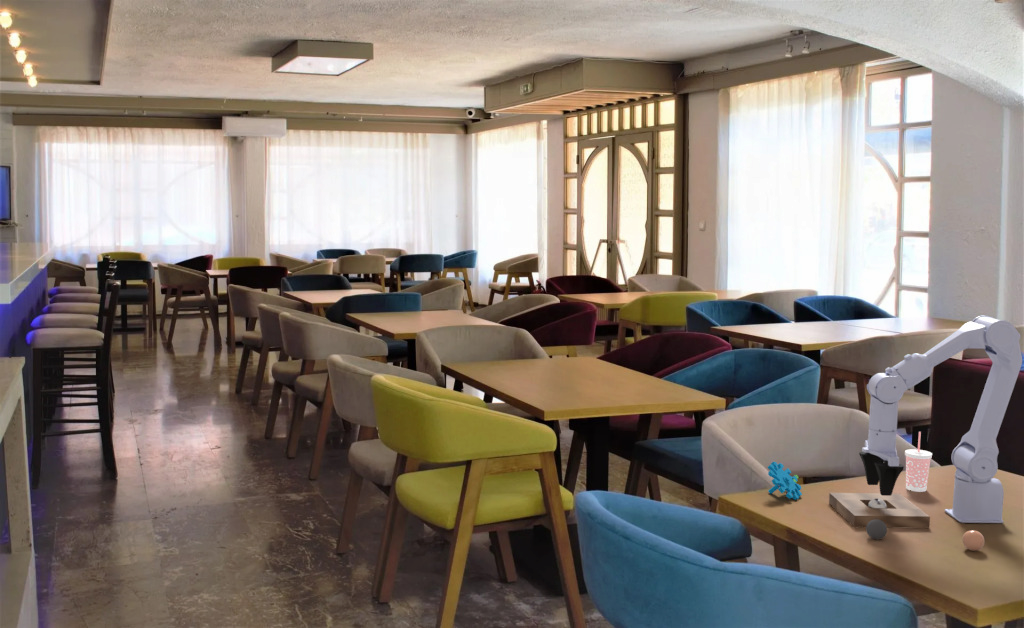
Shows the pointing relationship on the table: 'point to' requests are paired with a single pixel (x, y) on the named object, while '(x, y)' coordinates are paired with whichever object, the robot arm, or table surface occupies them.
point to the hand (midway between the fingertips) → (879, 489)
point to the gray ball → (876, 529)
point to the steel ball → (877, 503)
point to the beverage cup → (917, 468)
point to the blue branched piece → (784, 481)
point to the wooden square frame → (879, 510)
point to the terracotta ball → (973, 540)
